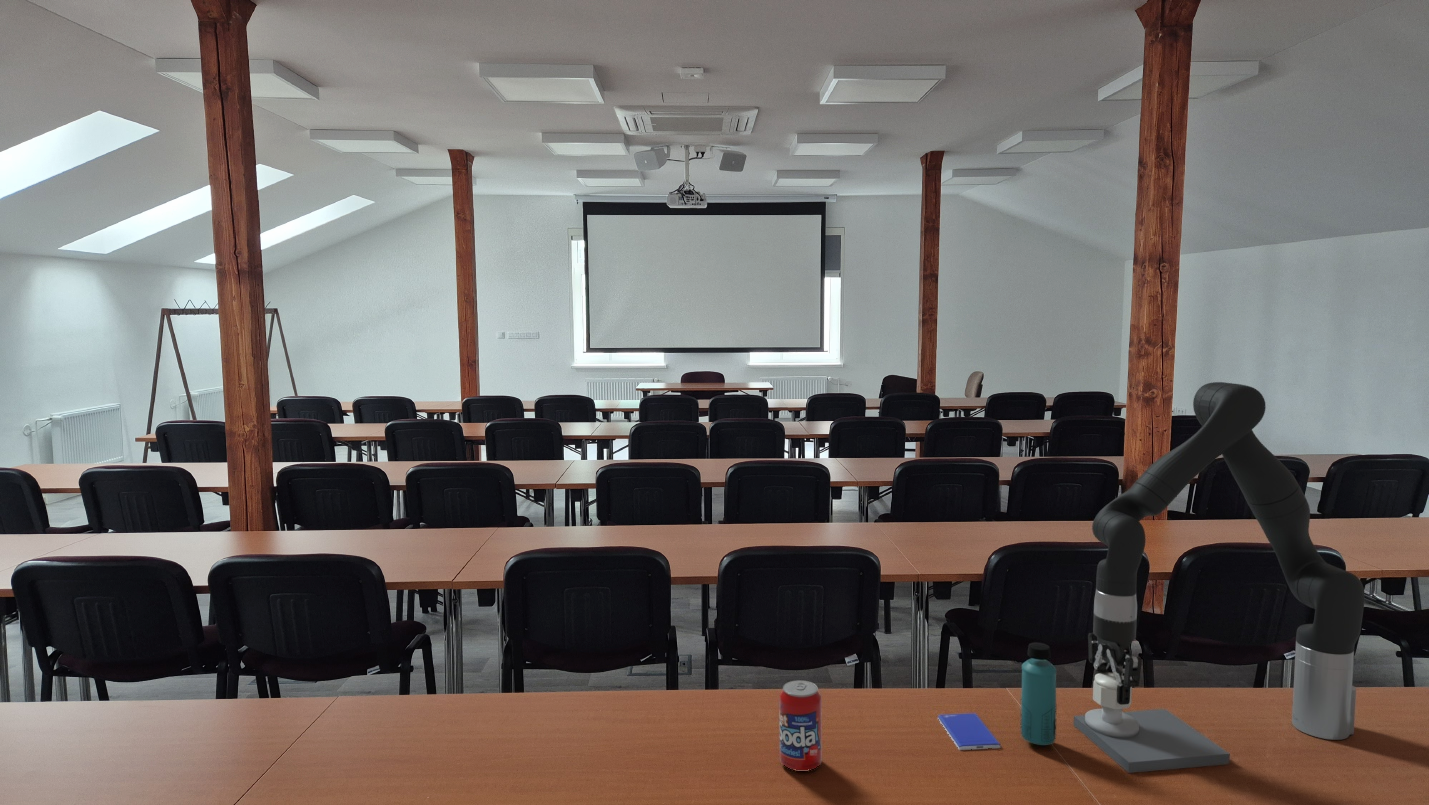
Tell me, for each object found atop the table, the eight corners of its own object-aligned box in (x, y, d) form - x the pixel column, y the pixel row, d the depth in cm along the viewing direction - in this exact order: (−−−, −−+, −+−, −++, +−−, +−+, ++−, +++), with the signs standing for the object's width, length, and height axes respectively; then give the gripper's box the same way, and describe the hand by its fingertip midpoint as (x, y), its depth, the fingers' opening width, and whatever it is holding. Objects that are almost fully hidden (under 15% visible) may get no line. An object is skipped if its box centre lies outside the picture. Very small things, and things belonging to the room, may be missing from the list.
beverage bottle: (1059, 754, 156) (1061, 652, 154) (1022, 751, 157) (1024, 650, 155) (1052, 737, 162) (1054, 639, 160) (1016, 734, 164) (1018, 637, 162)
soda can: (825, 757, 156) (825, 681, 155) (817, 778, 149) (816, 699, 148) (785, 750, 159) (785, 676, 158) (775, 771, 152) (774, 693, 150)
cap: (1117, 693, 166) (1118, 671, 165) (1137, 707, 159) (1138, 685, 159) (1087, 695, 165) (1088, 673, 164) (1106, 710, 158) (1107, 687, 158)
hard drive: (937, 714, 170) (959, 745, 158) (976, 712, 171) (1000, 743, 159) (937, 721, 171) (959, 753, 158) (976, 720, 171) (1000, 751, 159)
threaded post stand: (1164, 718, 169) (1165, 688, 169) (1229, 764, 152) (1230, 730, 151) (1073, 725, 167) (1074, 695, 166) (1128, 773, 149) (1129, 739, 149)
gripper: (1157, 625, 154) (1153, 711, 155) (1110, 600, 168) (1108, 679, 169) (1119, 627, 153) (1116, 714, 154) (1076, 602, 167) (1073, 681, 169)
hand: (1112, 695), depth 162 cm, fingers closed on cap, 6 cm apart
